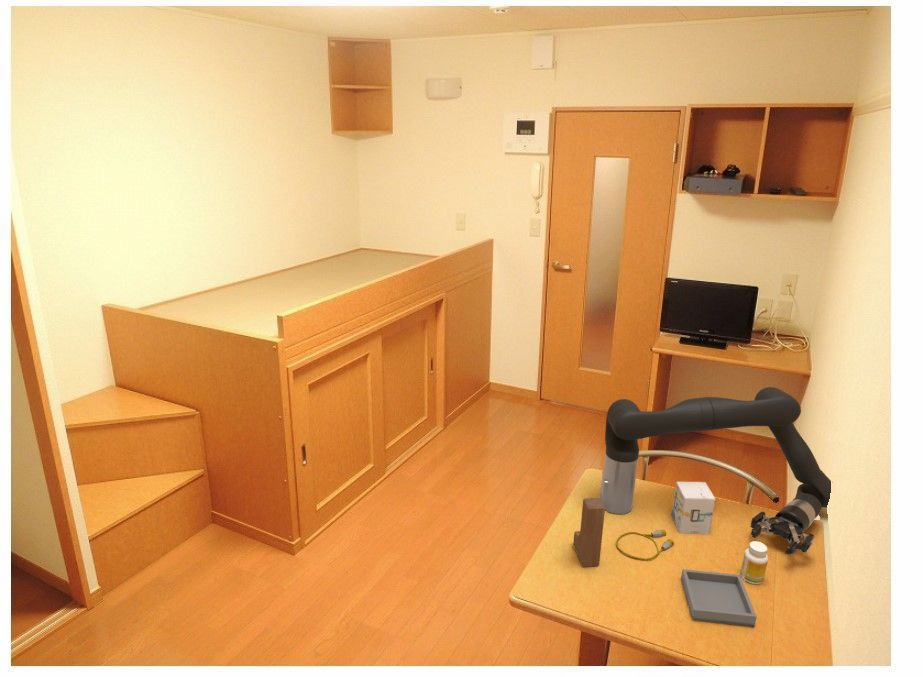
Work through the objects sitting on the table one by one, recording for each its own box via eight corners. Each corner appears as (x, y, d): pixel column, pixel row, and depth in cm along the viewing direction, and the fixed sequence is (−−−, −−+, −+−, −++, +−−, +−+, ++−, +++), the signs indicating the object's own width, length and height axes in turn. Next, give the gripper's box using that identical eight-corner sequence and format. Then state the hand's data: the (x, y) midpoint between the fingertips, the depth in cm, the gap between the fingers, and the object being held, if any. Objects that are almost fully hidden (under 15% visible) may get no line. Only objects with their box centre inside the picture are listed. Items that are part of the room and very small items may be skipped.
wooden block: (572, 544, 166) (577, 487, 159) (588, 543, 166) (594, 486, 160) (582, 567, 157) (588, 508, 151) (599, 566, 158) (605, 507, 151)
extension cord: (680, 564, 160) (681, 558, 159) (619, 561, 160) (620, 555, 160) (668, 534, 171) (669, 528, 170) (611, 531, 172) (612, 525, 171)
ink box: (670, 514, 179) (675, 480, 175) (700, 515, 178) (706, 481, 174) (679, 533, 171) (684, 497, 167) (710, 534, 170) (716, 498, 166)
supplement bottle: (735, 572, 156) (741, 540, 153) (753, 568, 158) (760, 537, 154) (749, 586, 151) (756, 555, 148) (768, 583, 153) (775, 551, 149)
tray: (692, 620, 141) (694, 609, 140) (680, 578, 154) (682, 569, 153) (754, 627, 139) (756, 616, 138) (737, 584, 152) (739, 574, 151)
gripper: (771, 494, 172) (745, 518, 162) (826, 518, 162) (802, 544, 152) (766, 517, 174) (740, 541, 164) (820, 541, 164) (796, 569, 154)
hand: (770, 543), depth 158 cm, fingers open, 8 cm apart
